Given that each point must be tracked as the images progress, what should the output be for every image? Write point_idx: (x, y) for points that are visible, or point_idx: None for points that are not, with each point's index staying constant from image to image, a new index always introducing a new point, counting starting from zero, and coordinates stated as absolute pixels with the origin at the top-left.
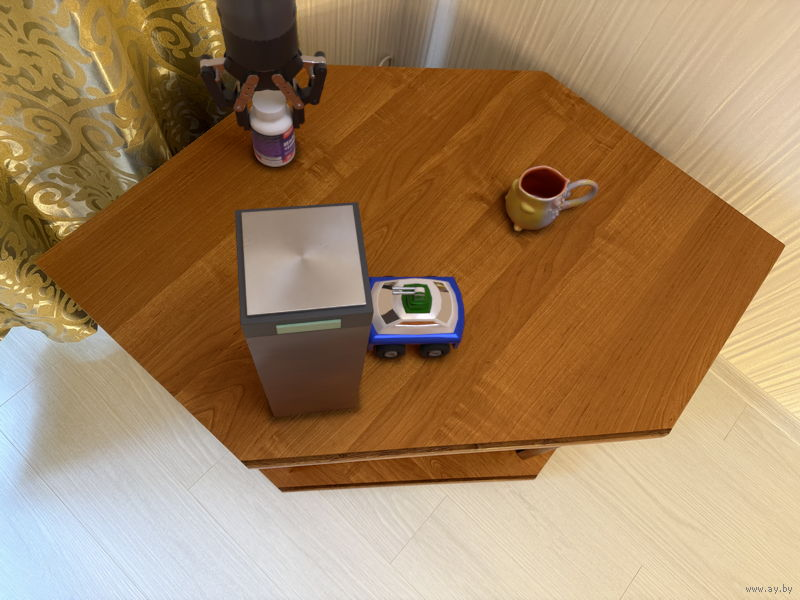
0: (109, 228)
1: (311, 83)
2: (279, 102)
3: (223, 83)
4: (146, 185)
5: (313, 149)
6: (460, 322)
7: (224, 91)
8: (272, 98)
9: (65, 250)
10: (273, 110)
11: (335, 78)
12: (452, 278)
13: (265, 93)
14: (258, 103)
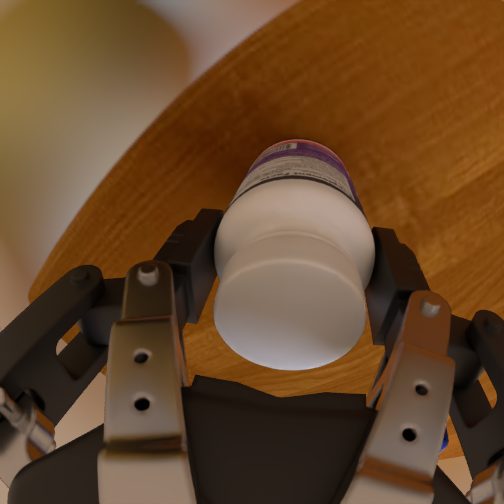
0: (53, 283)
1: (476, 426)
2: (331, 341)
3: (72, 315)
4: (67, 230)
5: (391, 198)
6: None
7: (91, 321)
8: (305, 322)
9: (32, 295)
10: (296, 365)
11: (484, 7)
12: (444, 447)
13: (278, 294)
14: (239, 335)
